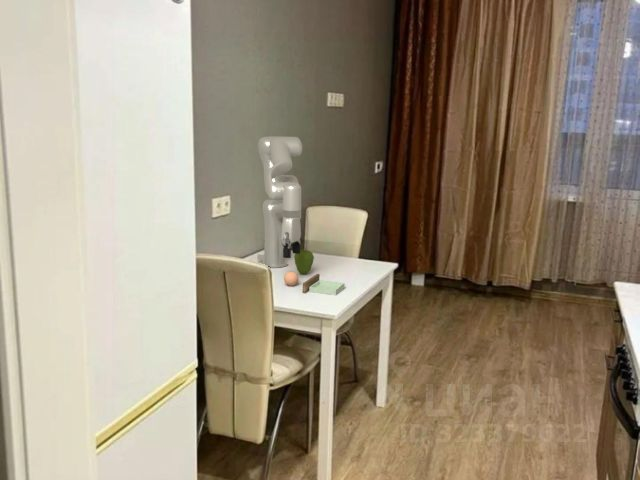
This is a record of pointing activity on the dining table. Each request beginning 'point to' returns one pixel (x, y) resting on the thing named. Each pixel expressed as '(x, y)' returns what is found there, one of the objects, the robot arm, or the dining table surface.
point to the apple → (304, 261)
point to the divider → (310, 283)
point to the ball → (291, 278)
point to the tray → (326, 287)
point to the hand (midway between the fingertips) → (291, 255)
